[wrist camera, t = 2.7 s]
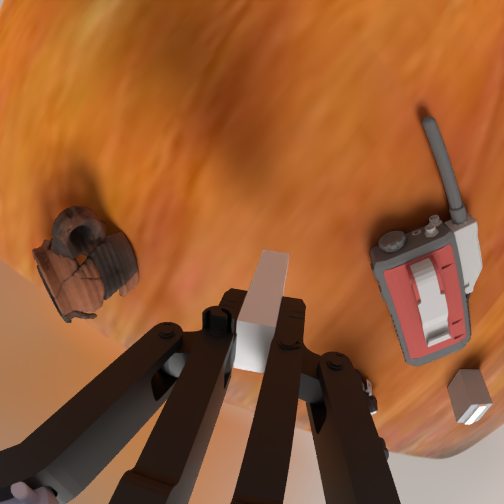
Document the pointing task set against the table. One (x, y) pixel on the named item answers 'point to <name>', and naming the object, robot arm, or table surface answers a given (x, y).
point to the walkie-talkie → (431, 272)
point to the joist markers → (469, 395)
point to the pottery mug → (84, 263)
